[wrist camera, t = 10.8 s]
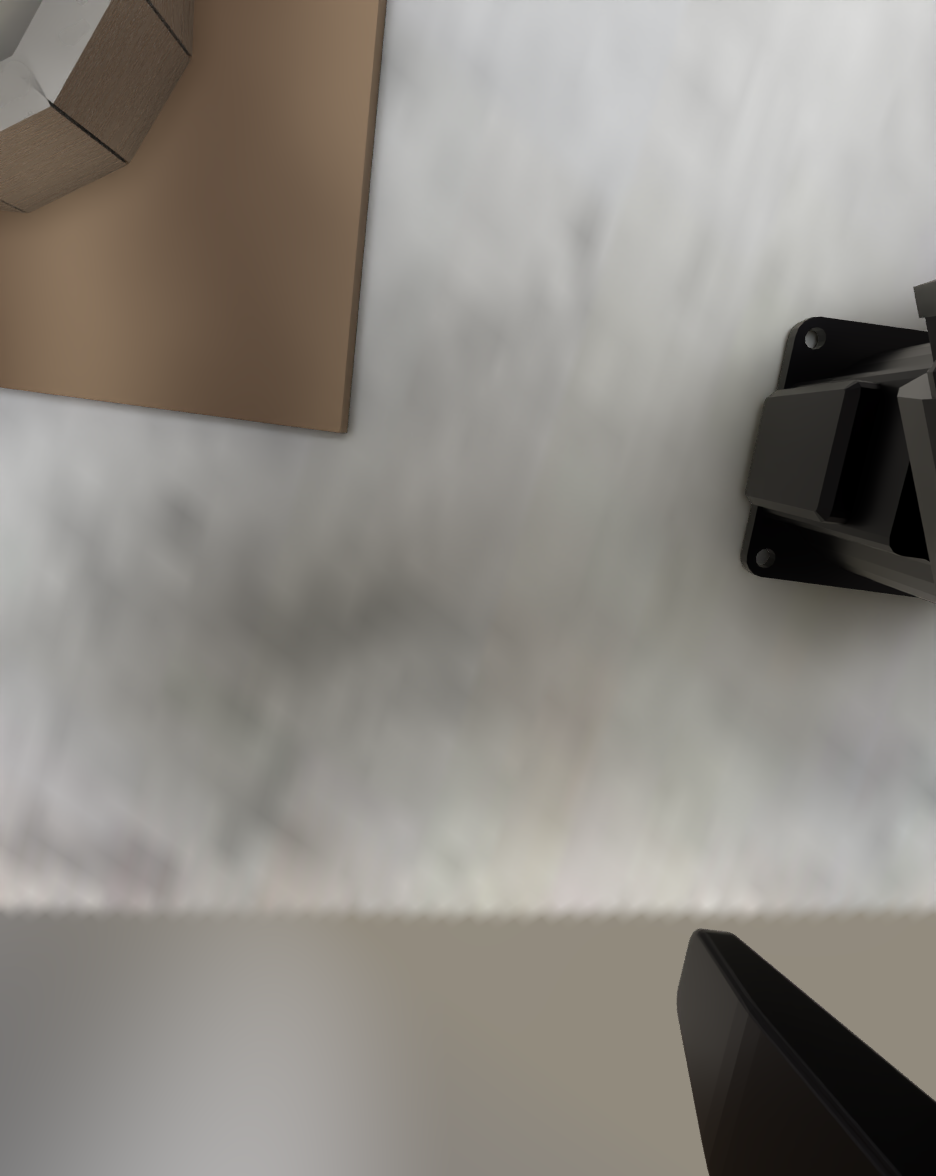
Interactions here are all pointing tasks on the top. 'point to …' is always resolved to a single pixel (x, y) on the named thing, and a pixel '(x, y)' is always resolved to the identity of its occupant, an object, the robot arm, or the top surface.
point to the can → (14, 23)
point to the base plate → (215, 232)
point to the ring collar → (85, 92)
